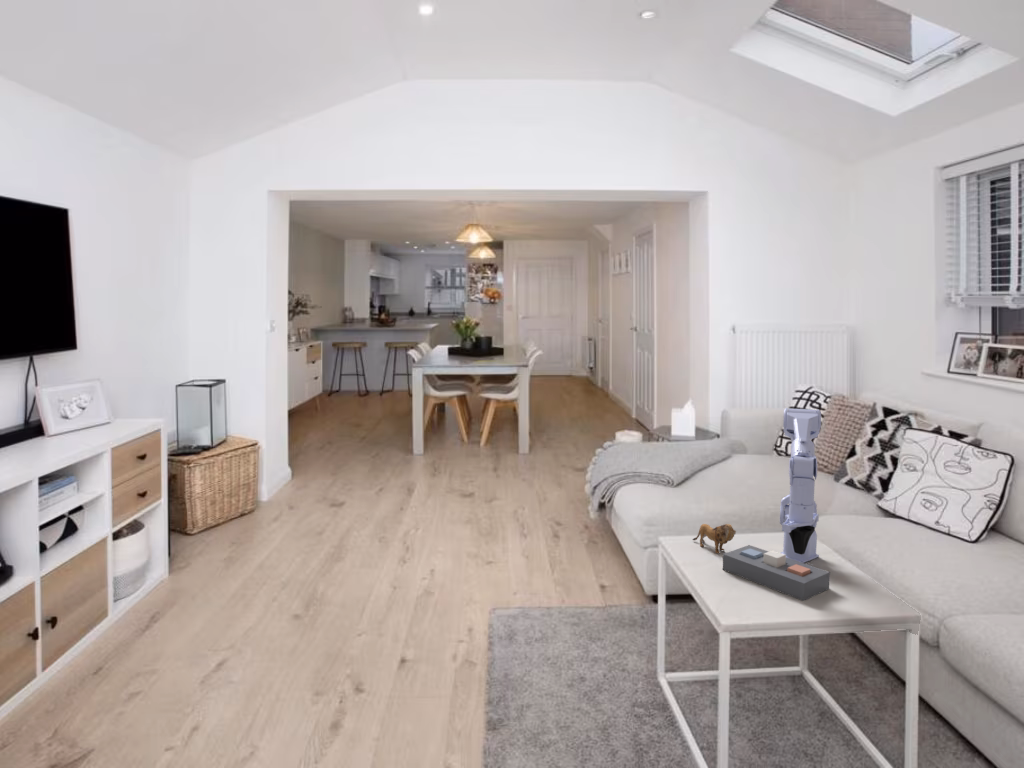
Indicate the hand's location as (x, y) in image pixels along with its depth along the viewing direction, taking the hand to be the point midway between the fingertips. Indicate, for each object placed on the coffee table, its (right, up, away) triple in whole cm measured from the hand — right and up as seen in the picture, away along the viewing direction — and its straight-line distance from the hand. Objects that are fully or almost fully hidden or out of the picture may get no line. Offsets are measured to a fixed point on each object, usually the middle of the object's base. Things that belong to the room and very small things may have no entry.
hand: (799, 553), depth 164 cm
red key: (0, -7, +1) cm, 7 cm away
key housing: (-4, -9, +7) cm, 12 cm away
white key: (-4, -5, +6) cm, 9 cm away
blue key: (-8, -6, +12) cm, 16 cm away
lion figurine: (-13, -7, +29) cm, 33 cm away
